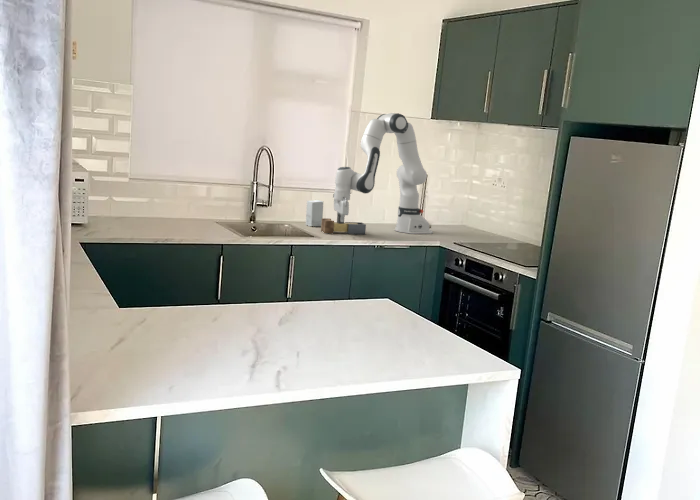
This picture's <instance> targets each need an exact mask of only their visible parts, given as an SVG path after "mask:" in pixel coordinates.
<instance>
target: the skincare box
mask: <svg viewBox="0 0 700 500" xmlns="http://www.w3.org/2000/svg"><path fill="white" fill-rule="evenodd" d="M305 212H306V214H305V215H306V216H305V226H307V225H308V227H310V226H315V227H321V223H322V218H324V217H323V216H324V215H323V214H324V201H322V200H319V199H315V200H306V211H305Z"/></svg>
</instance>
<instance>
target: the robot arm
mask: <svg viewBox="0 0 700 500" xmlns="http://www.w3.org/2000/svg"><path fill="white" fill-rule="evenodd" d="M386 133H387V134H394V135H395V137H396V145H397V152H398V153H397V154H398V157H399V158H400V161H401V163H402V164H401V165H400V166H398V167H397V169H396V177H397V179H398V185H399V206H398V207H397V208H398V209H397V220H396V221H397V222H396V225H395V227H394V231H396V232H400V233H406V234H409V235H410V234H411V235H412V234H414V235H415V234H417V235H420V234H422V235H423V234H425V235H426V234H431V235H432V234H433V230H432V229H430V223H429V221H428V220H427V219H426V218H425V217H424V216H423V215H422V214H423V213H424V212H425V211H424V210H423V209H422V208H421V209H420V208H419V201H420V194H419V190H418V186H420V185H422V184H424V183H425V182H426V180H427V177H428V174H427V171H426V170H425V168H424V166H423V164H422V163H423V162H422V160H421V158H420V155H419V151H418V144H417V138H416V133H415V130H414V126H413V125H412V124H411V122H408V120H407V118H406V117H405V116H404V115H403V114H401V113H395V112H390V113H383V114H381V115H379V116H378V117H377V118H372V119H370V120H369V122H368V124H367V126H366V127H365V129H364V132H363V135H362V137H361V140H360V148H361V150H362V152H363V153H364V154H365V155H366V156H367V160H366V165H365V169H364V172H363V173H358V172H356V171H354V170H353V169H352V167H349V166H341V167H338V168H337V170H336V172H335V177H334V183H335V185H334V186H335V187H334V192H333V195H332V198H333V209H334V211H336V215H337V214H339V215H341V218H340V222H344V223H345V216H348V215H349V214H350V213H349V211H350V209H349V208H350V207H349V206H350V204H349V201H350V200H351V190H352V191H355V192H359V193H362V194H369V193H371V191H373V190H374V187H375V184H376V183H375V182H376V181H375V179H376V174H377V170H378V165H379V162H380V156H381V151H380V150H381V149H380V148H381V144H382V141H383V138H384V136H385V134H386Z"/></svg>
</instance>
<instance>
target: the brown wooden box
mask: <svg viewBox="0 0 700 500" xmlns="http://www.w3.org/2000/svg"><path fill="white" fill-rule="evenodd" d="M334 222H335V220H332V218H325V217H323V218H322V223H321V226H320V232H322V231H323V232H324V233H333V234H334ZM323 232H322V233H323ZM324 233H323V234H324Z"/></svg>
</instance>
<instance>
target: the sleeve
mask: <svg viewBox="0 0 700 500" xmlns="http://www.w3.org/2000/svg"><path fill="white" fill-rule="evenodd" d="M344 223H357V224H348V232H345V233H346V234H347V235H357V234H359V235H360V236H361V235H363V236H364V235H366V232H367V230H366V228H367V224H365V223H363V222H355V221H352V222H351V221H344ZM359 235H358V236H359Z"/></svg>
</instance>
